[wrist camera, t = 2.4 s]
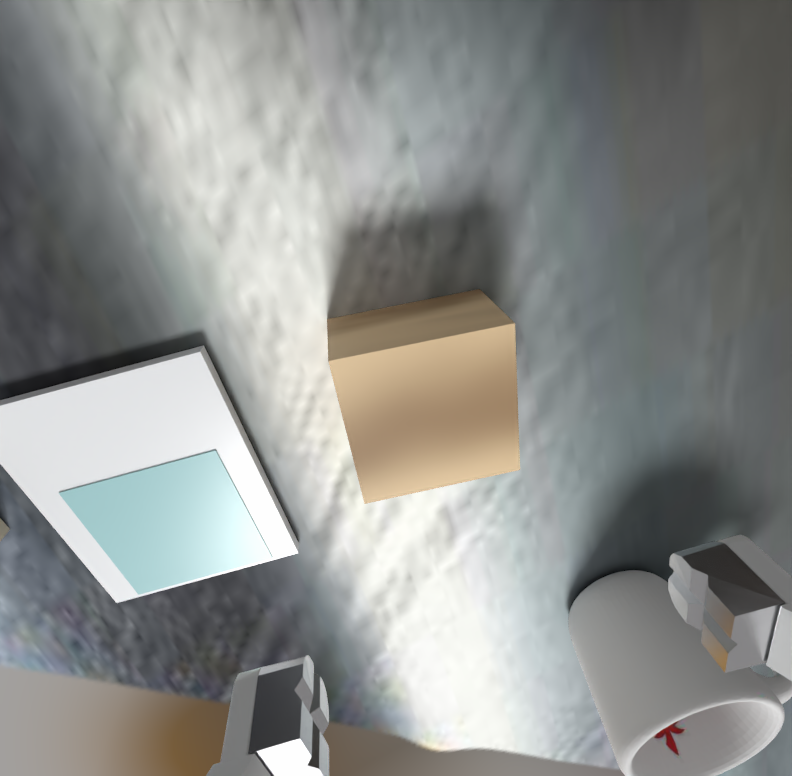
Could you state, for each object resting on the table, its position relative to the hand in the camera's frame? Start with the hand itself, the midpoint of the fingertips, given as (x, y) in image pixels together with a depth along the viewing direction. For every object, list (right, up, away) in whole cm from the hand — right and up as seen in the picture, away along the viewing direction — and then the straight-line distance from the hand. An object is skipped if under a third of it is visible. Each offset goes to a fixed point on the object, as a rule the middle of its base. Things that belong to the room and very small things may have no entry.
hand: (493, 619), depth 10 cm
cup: (+13, -8, +19) cm, 24 cm away
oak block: (-1, +6, +9) cm, 11 cm away
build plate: (-12, +1, +10) cm, 16 cm away
